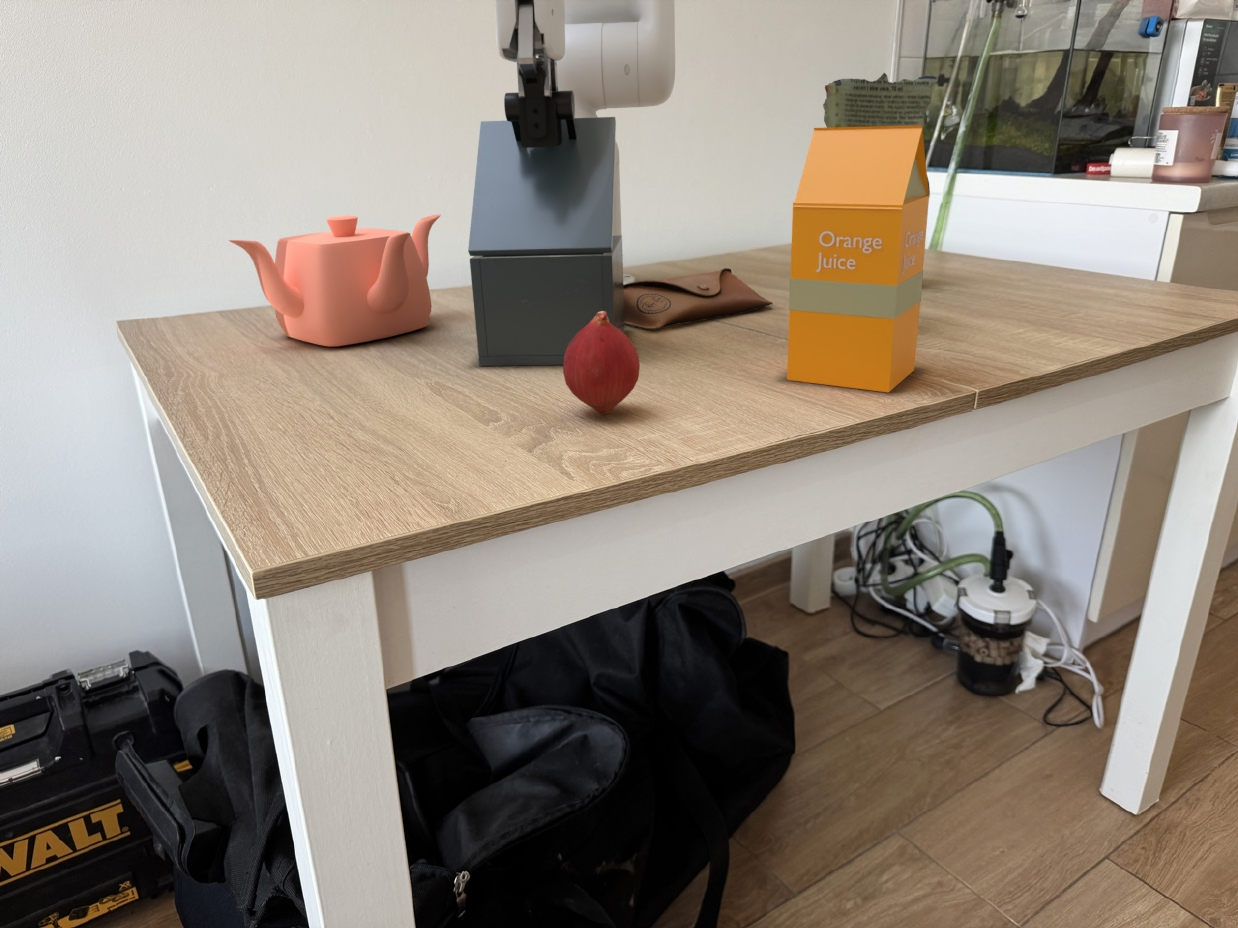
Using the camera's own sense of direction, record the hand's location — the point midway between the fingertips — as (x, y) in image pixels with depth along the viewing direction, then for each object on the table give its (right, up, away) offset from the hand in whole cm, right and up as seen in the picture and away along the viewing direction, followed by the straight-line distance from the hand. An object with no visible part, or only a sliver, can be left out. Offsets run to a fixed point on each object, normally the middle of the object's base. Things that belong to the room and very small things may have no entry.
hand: (542, 144), depth 83 cm
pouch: (+39, -7, +33) cm, 52 cm away
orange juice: (+27, -21, -4) cm, 35 cm away
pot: (-21, -15, +17) cm, 31 cm away
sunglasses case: (+16, -12, +21) cm, 29 cm away
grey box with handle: (0, -4, +1) cm, 4 cm away
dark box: (+1, -17, +8) cm, 19 cm away
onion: (+6, -25, -12) cm, 28 cm away
